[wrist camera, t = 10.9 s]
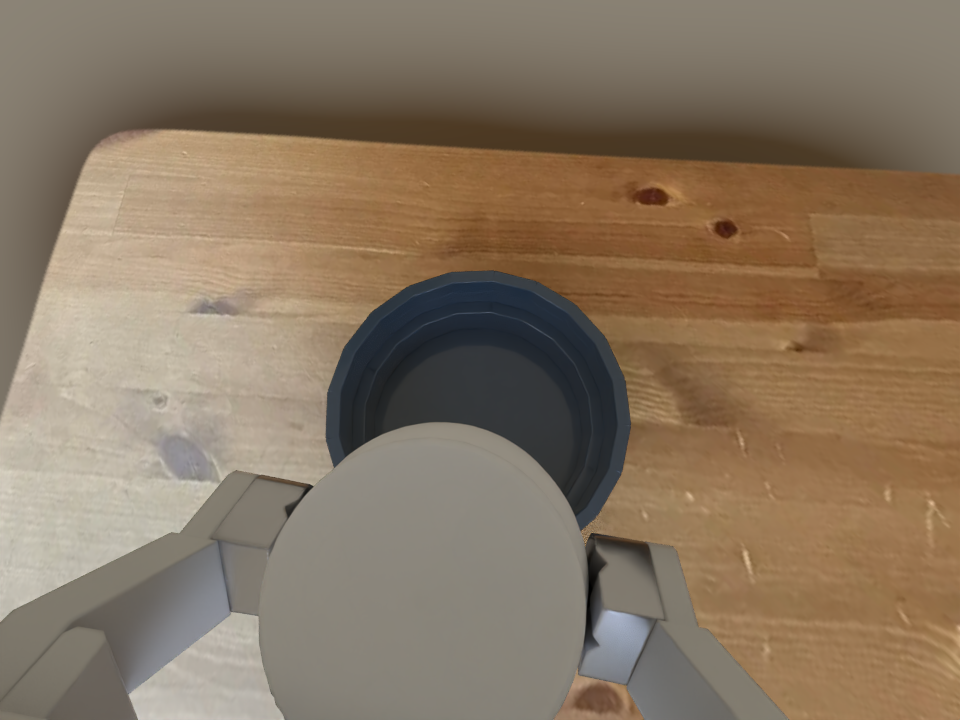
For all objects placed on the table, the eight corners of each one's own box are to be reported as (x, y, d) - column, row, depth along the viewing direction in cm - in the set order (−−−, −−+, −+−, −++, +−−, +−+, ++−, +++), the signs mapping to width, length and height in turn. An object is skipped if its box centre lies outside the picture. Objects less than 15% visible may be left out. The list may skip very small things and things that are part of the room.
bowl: (496, 271, 30) (500, 220, 25) (651, 448, 27) (693, 432, 22) (307, 408, 28) (267, 384, 23) (455, 617, 25) (450, 645, 20)
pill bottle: (328, 517, 15) (126, 523, 6) (480, 420, 16) (482, 312, 7) (421, 693, 14) (325, 996, 5) (582, 579, 14) (730, 675, 6)
